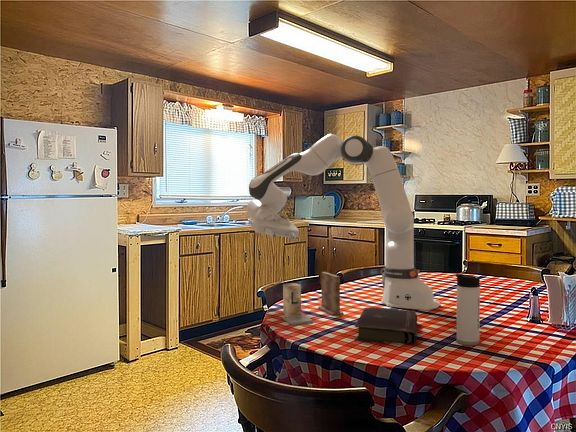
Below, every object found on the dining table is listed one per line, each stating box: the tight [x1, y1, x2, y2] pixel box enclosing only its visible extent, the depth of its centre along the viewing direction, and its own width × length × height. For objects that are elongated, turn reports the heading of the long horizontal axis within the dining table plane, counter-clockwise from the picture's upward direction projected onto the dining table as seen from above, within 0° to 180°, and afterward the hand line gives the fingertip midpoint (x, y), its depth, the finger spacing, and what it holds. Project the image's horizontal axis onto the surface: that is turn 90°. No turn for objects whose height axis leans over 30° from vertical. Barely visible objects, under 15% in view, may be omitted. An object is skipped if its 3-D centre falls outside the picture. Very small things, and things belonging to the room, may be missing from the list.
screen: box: [317, 271, 344, 317], centre depth 171 cm, size 12×4×14 cm, turn 21°
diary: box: [354, 306, 418, 346], centre depth 146 cm, size 19×25×5 cm
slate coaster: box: [282, 314, 314, 326], centre depth 158 cm, size 8×8×1 cm
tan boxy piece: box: [282, 282, 302, 317], centre depth 167 cm, size 5×5×11 cm
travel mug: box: [455, 273, 481, 346], centre depth 133 cm, size 6×7×20 cm
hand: (283, 237), depth 177 cm, fingers open, 8 cm apart
